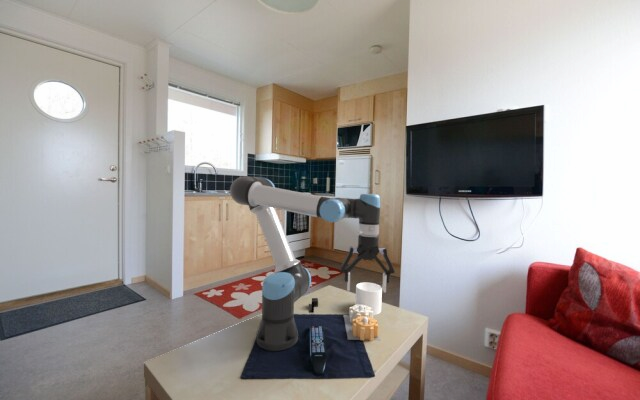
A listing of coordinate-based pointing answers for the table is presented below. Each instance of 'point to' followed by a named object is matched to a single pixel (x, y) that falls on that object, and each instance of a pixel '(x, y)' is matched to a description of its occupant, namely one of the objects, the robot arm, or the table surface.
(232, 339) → the table surface
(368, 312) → the gear
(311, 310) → the black boxy piece
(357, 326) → the gear
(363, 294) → the cup
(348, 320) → the gear board
